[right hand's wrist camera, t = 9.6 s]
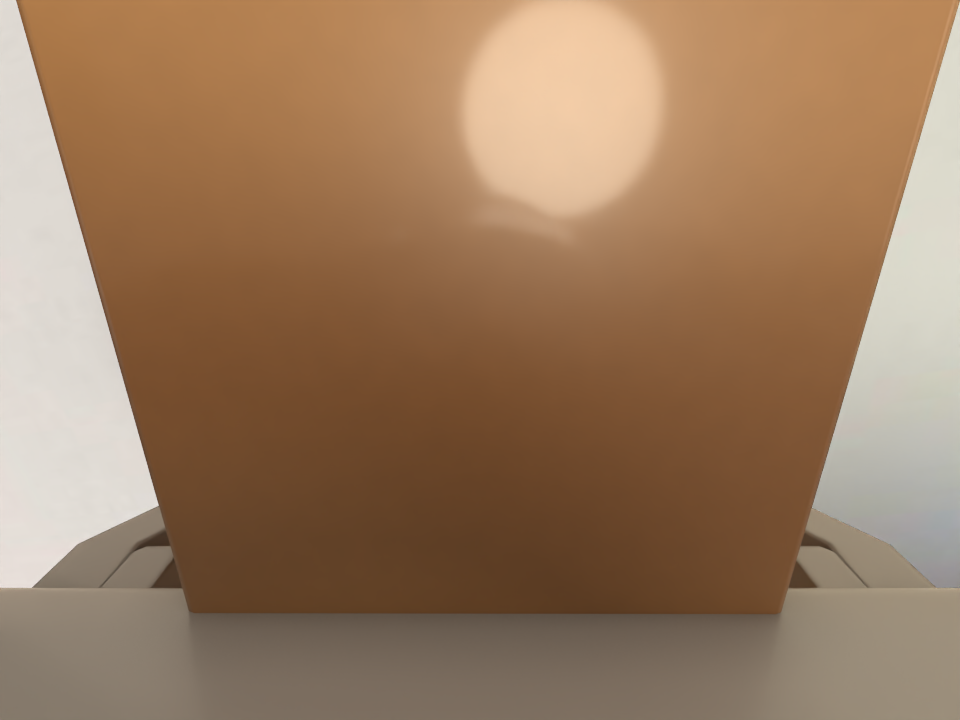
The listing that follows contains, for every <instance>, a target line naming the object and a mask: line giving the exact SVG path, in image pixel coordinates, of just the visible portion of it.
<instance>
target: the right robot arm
mask: <svg viewBox="0 0 960 720" xmlns="http://www.w3.org/2000/svg"><path fill="white" fill-rule="evenodd" d="M0 720H960V588H936V587H935V586H934V585H933V584H932V583H931V582H929V581H928V580H927V579H926V578H925V577H924V576H923V575H922V574H921V573H920V572H919V571H918V570H917V569H916V568H915V567H913V566H912V565H911V564H910V563H909V562H908V561H907V560H906V559H905V558H904V557H903V556H902V555H901V554H900V553H899V552H897V551H896V550H895V549H894V548H893V547H892V546H891V545H890V544H887V543H885V542H883V541H881V540H879V539H877V538H875V537H873V536H870V535H868V534H866V533H864V532H862V531H860V530H858V529H856V528H853V527H851V526H849V525H847V524H845V523H843V522H841V521H839V520H836V519H834V518H832V517H830V516H828V515H826V514H824V513H822V512H819V511H817V510H815V509H813V508H811V512H810V515H809V519H808V522H807V526H806V529H805V532H804V536H803V539H802V543H801V546H800V549H799V553H798V556H797V560H796V563H795V567H794V570H793V573H792V577H791V580H790V584H789V587H788V591H787V594H786V597H785V601H784V604H783V608H782V611H781V612H780V613H778V614H388V613H193V612H190V611H189V610H188V606H187V603H186V599H185V596H184V592H183V589H182V585H181V582H180V578H179V575H178V571H177V568H176V564H175V560H174V557H173V553H172V550H171V546H170V543H169V539H168V536H167V532H166V529H165V525H164V522H163V518H162V514H161V511H160V507H159V506H157V507H155V508H153V509H151V510H149V511H147V512H145V513H143V514H141V515H138V516H136V517H134V518H132V519H130V520H128V521H126V522H124V523H122V524H119V525H117V526H115V527H113V528H111V529H109V530H107V531H105V532H103V533H100V534H98V535H96V536H94V537H92V538H90V539H88V540H86V541H84V542H81V543H79V544H78V545H76V546H75V547H74V548H73V549H72V550H71V551H70V552H69V553H68V554H67V555H66V556H65V557H64V558H63V559H62V560H61V561H60V562H59V563H58V564H56V565H55V566H54V567H53V568H52V569H51V570H50V571H49V572H48V573H47V574H46V575H45V576H44V577H43V578H42V579H41V580H40V581H39V582H38V583H36V584H35V585H34V586H33V587H32V588H0Z"/></svg>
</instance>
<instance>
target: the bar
mask: <svg viewBox="0 0 960 720" xmlns="http://www.w3.org/2000/svg"><path fill="white" fill-rule="evenodd" d="M16 1H17V5H18V8H19V12H20V15H21V19H22V23H23V26H24V30H25V33H26V37H27V40H28V44H29V47H30V51H31V54H32V58H33V61H34V65H35V69H36V72H37V76H38V79H39V83H40V86H41V90H42V93H43V97H44V100H45V104H46V107H47V111H48V115H49V118H50V122H51V125H52V129H53V132H54V136H55V139H56V143H57V146H58V150H59V153H60V157H61V161H62V164H63V168H64V171H65V175H66V178H67V182H68V185H69V189H70V192H71V196H72V199H73V203H74V207H75V210H76V214H77V217H78V221H79V224H80V228H81V231H82V235H83V238H84V242H85V245H86V249H87V253H88V256H89V260H90V263H91V267H92V270H93V274H94V277H95V281H96V284H97V288H98V291H99V295H100V299H101V302H102V306H103V309H104V313H105V316H106V320H107V323H108V327H109V330H110V334H111V337H112V341H113V345H114V348H115V352H116V355H117V359H118V362H119V366H120V369H121V373H122V376H123V380H124V383H125V387H126V391H127V394H128V398H129V401H130V405H131V408H132V412H133V415H134V419H135V422H136V426H137V429H138V433H139V437H140V440H141V444H142V447H143V451H144V454H145V458H146V461H147V465H148V468H149V472H150V475H151V479H152V483H153V486H154V490H155V493H156V497H157V500H158V504H159V507H160V511H161V514H162V518H163V522H164V525H165V529H166V532H167V536H168V539H169V543H170V546H171V550H172V553H173V557H174V560H175V564H176V568H177V571H178V575H179V578H180V582H181V585H182V589H183V592H184V596H185V599H186V603H187V606H188V610H189V611H190V612H193V613H388V614H778V613H780V612H781V611H782V608H783V604H784V601H785V597H786V594H787V591H788V587H789V584H790V580H791V577H792V573H793V570H794V567H795V563H796V560H797V556H798V553H799V549H800V546H801V543H802V539H803V536H804V532H805V529H806V526H807V522H808V519H809V515H810V512H811V508H812V505H813V502H814V498H815V495H816V491H817V488H818V484H819V481H820V478H821V474H822V471H823V467H824V464H825V460H826V457H827V454H828V450H829V447H830V443H831V440H832V437H833V433H834V430H835V426H836V423H837V419H838V416H839V413H840V409H841V406H842V402H843V399H844V395H845V392H846V389H847V385H848V382H849V378H850V375H851V371H852V368H853V365H854V361H855V358H856V354H857V351H858V347H859V344H860V341H861V337H862V334H863V330H864V327H865V324H866V320H867V317H868V313H869V310H870V306H871V303H872V300H873V296H874V293H875V289H876V286H877V282H878V279H879V276H880V272H881V269H882V265H883V262H884V258H885V255H886V252H887V248H888V245H889V241H890V238H891V235H892V231H893V228H894V224H895V221H896V217H897V214H898V211H899V207H900V204H901V200H902V197H903V193H904V190H905V187H906V183H907V180H908V176H909V173H910V169H911V166H912V163H913V159H914V156H915V152H916V149H917V145H918V142H919V139H920V135H921V132H922V128H923V125H924V122H925V118H926V115H927V111H928V108H929V104H930V101H931V98H932V94H933V91H934V87H935V84H936V80H937V77H938V74H939V70H940V67H941V63H942V60H943V56H944V53H945V50H946V46H947V43H948V39H949V36H950V33H951V29H952V26H953V22H954V19H955V15H956V12H957V9H958V5H959V2H960V0H16Z"/></svg>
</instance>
